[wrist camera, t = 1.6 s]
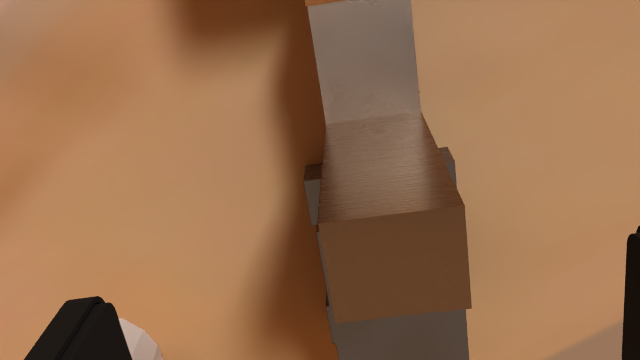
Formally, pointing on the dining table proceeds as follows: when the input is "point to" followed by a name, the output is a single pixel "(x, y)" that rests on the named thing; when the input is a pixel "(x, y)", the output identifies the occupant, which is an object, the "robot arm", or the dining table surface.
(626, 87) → the dining table surface
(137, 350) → the shot glass
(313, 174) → the sleeve
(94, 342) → the robot arm
